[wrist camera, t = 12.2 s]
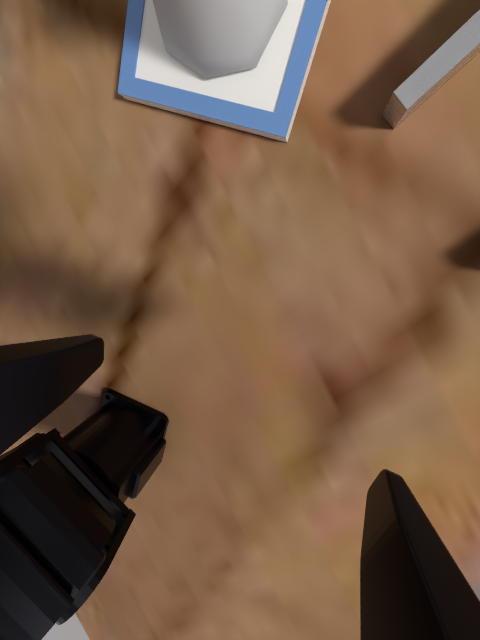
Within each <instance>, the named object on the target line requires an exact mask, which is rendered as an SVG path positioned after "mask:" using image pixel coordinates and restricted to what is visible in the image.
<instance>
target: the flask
mask: <svg viewBox="0 0 480 640" xmlns="http://www.w3.org/2000/svg"><path fill="white" fill-rule="evenodd" d="M153 4H154V8H155V12H156V16H157V20H158V24H159V28H160V32H161V36H162V39H163V43H164V47H165V50H166V52H168V53H169V54H171V55H172V56H174V57H175V58H176V59H178V60H179V61H181V62H182V63H184V64H185V65H187V66H188V67H189V68H191V69H192V70H194V71H195V72H197V73H198V74H200V75H201V76H203V77H204V78H205V79H208V78H212V77H216V76H221V75H225V74H230V73H234V72H239V71H243V70H248V69H252V68H256V66H257V64H258V62H259V60H260V58H261V56H262V54H263V52H264V50H265V49H266V47H267V45H268V43H269V41H270V39H271V37H272V35H273V33H274V31H275V29H276V27H277V25H278V23H279V21H280V19H281V17H282V15H283V13H284V11H285V9H286V7H287V5H288V0H153Z"/></svg>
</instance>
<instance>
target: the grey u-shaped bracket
mask: <svg viewBox="0 0 480 640" xmlns="http://www.w3.org/2000/svg"><path fill="white" fill-rule="evenodd" d="M479 52H480V10H479V11H478V12H476V13H475V14H474V15H473V16H472V17H471V18H470V19H469V20H468V21H467V22H466V23H465V24H464V25H463V26H462V27H461V28H460V29H459V30H458V31H457V32H456V33H454V34H453V35H452V36H451V37H450V38H449V39H448V40H447V41H446V42H445V43H444V44H443V45H442V46H441V47H440V48H439V49H438V50H437V51H436V52H435V53H434V54H433V55H431V56H430V57H429V58H428V59H427V60H426V61H425V62H424V63H423V64H422V65H421V66H420V67H419V68H418V69H417V70H416V71H415V72H414V73H413V74H412V75H411V76H410V77H408V78H407V79H406V80H405V81H404V82H403V83H402V84H401V85H400V86H399V87H398V88H397V89H396V90H395V91H394V92H393V94H392V96H391V98H390V100H389V102H388V103H387V105H386V107H385V109H384V111H383V113H382V115H383V117H384V118H385V119H386V121H387V122H388V123H389V124H390V126H391V127H392V128H393V129H394V128H396V127H397V126H398V125H399V124H400V123H401V122H402V121H403V120H404V119H406V118H407V117H408V116H409V115H410V114H411V113H412V112H413V111H414V110H415V109H417V108H418V107H419V106H420V105H421V104H422V103H423V102H424V101H425V100H427V99H428V98H429V97H430V96H431V95H432V94H433V93H434V92H435V91H437V90H438V89H439V88H440V87H441V86H442V85H443V84H444V83H445V82H447V81H448V80H449V79H450V78H451V77H452V76H453V75H454V74H455V73H457V72H458V71H459V70H460V69H461V68H462V67H463V66H464V65H465V64H467V63H468V62H469V61H470V60H471V59H472V58H473V57H474V56H475V55H477V54H478V53H479Z"/></svg>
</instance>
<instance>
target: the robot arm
mask: <svg viewBox="0 0 480 640" xmlns="http://www.w3.org/2000/svg"><path fill="white" fill-rule="evenodd" d="M103 360H104V341H103V339H102V338H100V337H97V336H95V335H92V334H88V335H81V336H73V337H65V338H57V339H49V340H42V341H34V342H26V343H18V344H10V345H3V346H0V455H1V454H2V453H3V452H4V451H6V450H7V449H8V448H9V447H10V446H12V445H13V444H14V443H15V442H16V441H18V440H19V439H20V438H21V437H22V436H24V435H25V434H26V433H27V432H28V431H30V430H31V429H32V428H33V427H34V426H36V425H37V424H38V423H39V422H40V421H42V420H43V419H44V418H45V417H46V416H48V415H49V414H50V413H51V412H52V411H54V410H55V409H56V408H57V407H58V406H60V405H61V404H62V403H63V402H64V401H65V400H67V399H68V398H69V397H70V396H71V395H72V394H73V393H74V392H75V391H76V390H77V389H78V388H79V387H80V386H81V385H82V384H83V383H84V382H85V381H86V380H87V379H88V378H89V377H90V376H91V375H92V374H93V373H94V372H95V371H96V370H97V369H98V368H99V367H100V366H101V364H102V363H103ZM109 396H110V397H109ZM162 421H163V422H162ZM168 422H169V420H168V418H167V416H165V415H163V414H161V413H159V412H157V411H154V410H152V409H150V408H148V407H146V406H144V405H142V404H139V403H137V402H135V401H133V400H131V399H129V398H126V397H124V396H122V395H120V394H118V393H116V392H113V391H111V390H108V391H106V392H105V393H104V394H103V398H102V405H101V408H100V409H99V410H98V411H96V412H95V413H94V414H92V415H91V416H90V417H89V418H87V419H86V420H85V421H83V422H82V423H81V424H80V425H78V426H77V427H76V428H74V429H73V430H72V431H71V432H69V433H68V434H67V435H65V436H64V437H63V438H62V437H61V436H60V435H59V434H60V432H59V431H58V430H57V429H56V428H54V429H53V430H51V431H50V432H48V433H47V434H44V433H42V434H41V433H36V434H35V435H33V436H32V437H30V438H29V439H27V440H26V441H24V442H23V443H22V444H20V445H19V446H17V447H15V448H14V449H12V450H10V451H8V452H6V453H5V454H3V455H1V456H0V640H41V639H42V638H43V637H44V636H45V635H46V633H47V632H48V631H49V630H50V629H51V628H52V626H53V625H54V624H55V623H57V624H58V625H61V624H63V623H64V622H66V621H67V620H68V619H69V618H70V617H71V616H72V615H73V614H74V613H75V612H76V611H77V610H78V609H79V608H80V607H81V606H82V605H83V604H84V602H85V601H86V600H87V599H88V597H89V596H90V595H91V594H92V592H93V591H94V590H95V588H96V587H97V585H98V584H99V583H100V581H101V580H102V578H103V576H104V575H105V573H106V572H107V570H108V568H109V566H110V564H111V562H112V560H113V558H114V556H115V554H116V552H117V550H118V548H119V547H120V545H121V543H122V541H123V539H124V537H125V535H126V533H127V531H128V529H129V527H130V525H131V523H132V521H133V519H134V517H135V515H136V514H135V513H134V512H133V511H132V510H131V509H129V508H128V507H127V506H126V505H125V504H124V502H125V501H126V499H127V498H128V497H129V498H131V499H133V498H136V497H137V495H138V494H139V493H140V491H141V490H142V488H143V487H144V485H145V484H146V483H147V481H148V480H149V478H150V477H151V476H152V474H153V473H154V471H155V470H156V468H157V467H158V466H159V464H160V463H161V461H162V457H163V453H164V449H165V445H166V440H165V439H164V438H165V434H166V430H167V426H168ZM360 613H361V640H480V601H479V599H478V598H477V596H476V594H475V593H474V591H473V590H472V588H471V586H470V585H469V583H468V582H467V580H466V578H465V577H464V575H463V574H462V572H461V570H460V569H459V567H458V566H457V564H456V562H455V561H454V559H453V558H452V556H451V554H450V553H449V551H448V550H447V548H446V546H445V545H444V543H443V542H442V540H441V538H440V537H439V535H438V534H437V532H436V530H435V529H434V527H433V526H432V524H431V522H430V521H429V519H428V518H427V516H426V514H425V513H424V511H423V510H422V508H421V506H420V505H419V503H418V502H417V500H416V498H415V497H414V495H413V494H412V492H411V490H410V489H409V487H408V486H407V484H406V483H405V481H404V479H403V478H402V477H401V476H400V475H398V474H396V473H394V472H391V471H389V470H387V469H384V470H382V471H381V472H380V473H379V475H378V476H377V478H376V479H375V480H374V482H373V483H372V485H371V486H370V488H369V490H368V493H367V500H366V509H365V519H364V529H363V539H362V548H361V564H360Z"/></svg>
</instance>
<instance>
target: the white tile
mask: <svg viewBox="0 0 480 640" xmlns="http://www.w3.org/2000/svg"><path fill="white" fill-rule="evenodd" d="M330 2H331V0H288V5H287V7H286V9H285V11H284V13H283V15H282V17H281V19H280V21H279V23H278V25H277V27H276V29H275V31H274V33H273V35H272V37H271V39H270V41H269V43H268V45H267V47H266V49H265V50H264V52H263V54H262V56H261V58H260V60H259V62H258V64H257V66H256V68H252V69H248V70H243V71H239V72H234V73H230V74H225V75H221V76H216V77H212V78H208V79H205V78H204V77H203V76H201V75H200V74H198V73H197V72H195V71H194V70H192V69H191V68H189V67H188V66H187V65H185V64H184V63H182V62H181V61H179V60H178V59H176V58H175V57H174V56H172V55H171V54H169V53H168V52H166V50H165V47H164V43H163V39H162V36H161V32H160V28H159V24H158V20H157V16H156V12H155V8H154V4H153V0H128V6H127V15H126V24H125V32H124V41H123V50H122V59H121V68H120V77H119V85H118V94H120V95H121V96H123V97H124V98H125V99H127V100H130V101H134V102H138V103H141V104H145V105H149V106H153V107H156V108H160V109H164V110H167V111H171V112H175V113H179V114H182V115H186V116H190V117H194V118H197V119H201V120H205V121H209V122H212V123H216V124H220V125H223V126H227V127H231V128H235V129H238V130H242V131H246V132H250V133H253V134H257V135H261V136H265V137H268V138H272V139H276V140H279V141H283V142H287V141H288V138H289V135H290V132H291V128H292V125H293V122H294V119H295V115H296V112H297V109H298V106H299V102H300V99H301V96H302V93H303V89H304V86H305V83H306V80H307V76H308V73H309V70H310V67H311V63H312V60H313V57H314V54H315V50H316V47H317V44H318V41H319V37H320V34H321V31H322V28H323V25H324V21H325V18H326V15H327V12H328V8H329V5H330Z"/></svg>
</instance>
